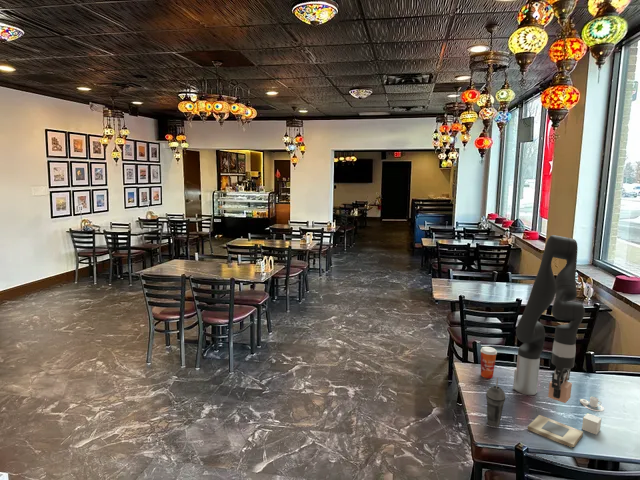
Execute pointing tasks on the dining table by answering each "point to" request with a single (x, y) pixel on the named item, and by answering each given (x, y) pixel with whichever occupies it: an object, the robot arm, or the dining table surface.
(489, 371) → the paper cup
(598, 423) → the white cube
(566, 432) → the beige rectangular frame
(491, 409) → the beverage cup
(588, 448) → the dining table surface
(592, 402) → the teacup and saucer
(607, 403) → the dining table surface
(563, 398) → the terracotta cube
